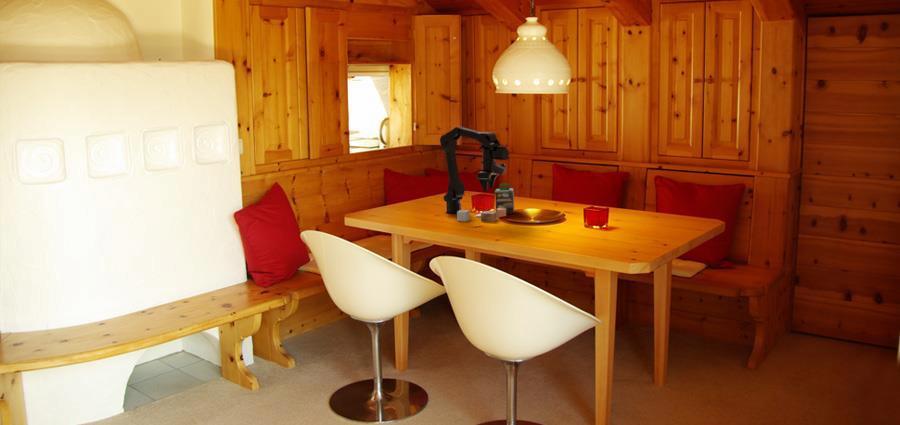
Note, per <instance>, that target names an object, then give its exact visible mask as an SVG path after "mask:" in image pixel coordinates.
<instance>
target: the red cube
mask: <svg viewBox="0 0 900 425" xmlns="http://www.w3.org/2000/svg"><path fill="white" fill-rule="evenodd" d="M501 216H506V217H507V214H506V208H498V209H497V218H500V217H501Z"/></svg>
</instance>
